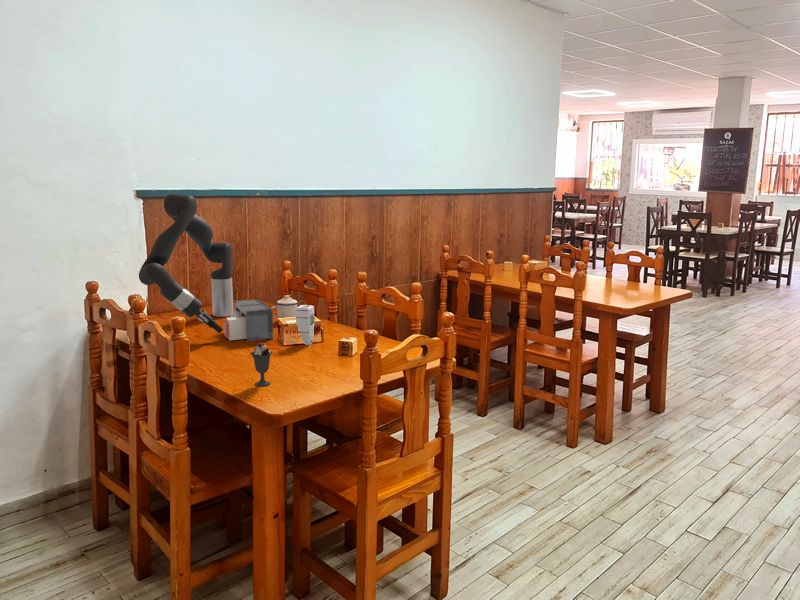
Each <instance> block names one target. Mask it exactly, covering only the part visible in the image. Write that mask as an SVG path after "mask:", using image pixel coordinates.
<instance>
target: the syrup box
mask: <svg viewBox="0 0 800 600" xmlns="http://www.w3.org/2000/svg"><path fill="white" fill-rule="evenodd" d="M295 314H296V322H295V326H296V325H297V326H298V331H299V332H300V334H301V336H302V339H303V341H304V344H305V345H304V346H311V345H312V344H313V343H312V340H313V336H314V326H315V325H316V324H315V305H311V304H310V305H309V304H301V305H299V306H297V308H295Z"/></svg>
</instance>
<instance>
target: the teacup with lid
mask: <svg viewBox="0 0 800 600" xmlns="http://www.w3.org/2000/svg"><path fill="white" fill-rule="evenodd" d="M298 303H299V302H298V301H297V300H296V299H294V298H292V297H290V295H284V297H283V298H282V299H279V300H277V301H276V305H274V306H272V307H270V308H271V309H272V310H273V309H276V310H277V315H276V314H273V318H276V319H278V318H285V317H295V316H296V314H295V308H297V307H298Z"/></svg>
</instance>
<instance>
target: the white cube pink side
mask: <svg viewBox="0 0 800 600" xmlns="http://www.w3.org/2000/svg"><path fill="white" fill-rule="evenodd" d="M223 335H224V336H225V337H226V338H227V339H228V340H229V341H237V340H247V332H246V316H242V317H231V316H229V317H226V321H223Z"/></svg>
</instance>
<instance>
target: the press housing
mask: <svg viewBox="0 0 800 600" xmlns="http://www.w3.org/2000/svg"><path fill="white" fill-rule="evenodd" d="M234 311H240V317H242V316H246V332H247V339H246V342H248V341H250V342H258V341H257V340H258V339H259V340H260V341H266V340H265V339H270V340H274V317H273V315H274V314H273V309H271V307H270V306H268V304H266V303H265V302H263V301H262V300H261V299H259V298H254V299H253V298H252V299H241V300H240V299H239V300H234ZM255 337H257V338H258V339H257V338H255Z"/></svg>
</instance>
